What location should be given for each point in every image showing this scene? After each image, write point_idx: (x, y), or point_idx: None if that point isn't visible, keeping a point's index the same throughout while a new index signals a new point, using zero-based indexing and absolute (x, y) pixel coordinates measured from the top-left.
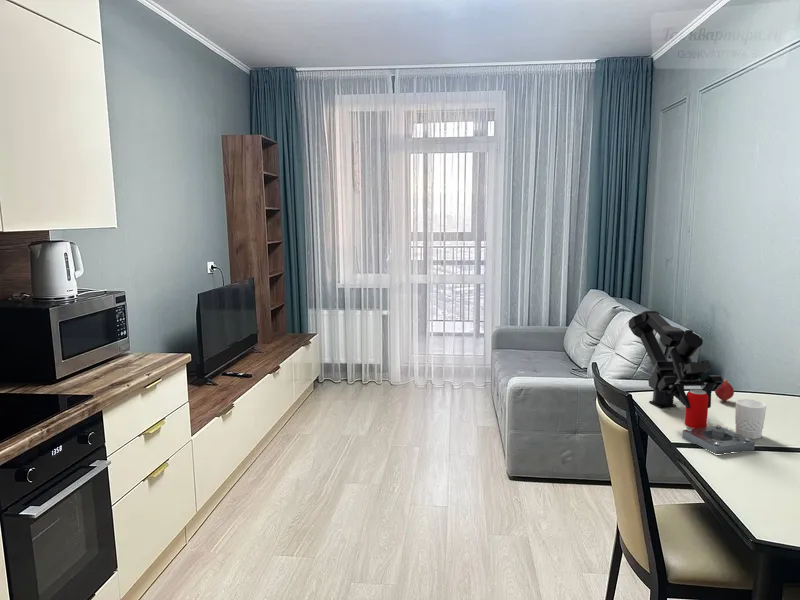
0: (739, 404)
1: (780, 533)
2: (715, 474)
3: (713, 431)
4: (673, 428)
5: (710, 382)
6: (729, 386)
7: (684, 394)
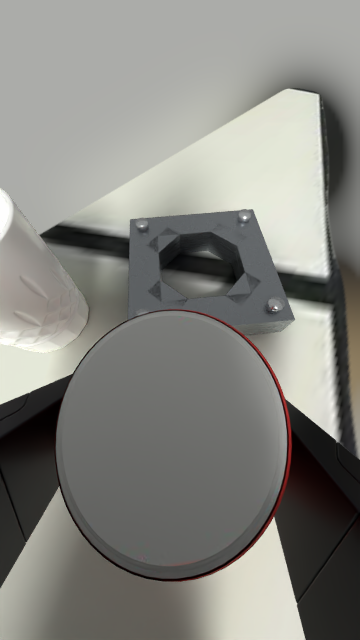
0: (9, 227)
1: (287, 96)
2: (292, 177)
3: (184, 298)
4: None
5: None
6: None
7: (335, 461)
